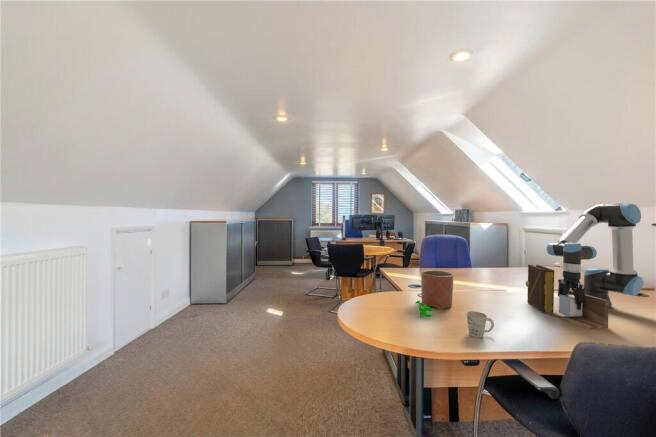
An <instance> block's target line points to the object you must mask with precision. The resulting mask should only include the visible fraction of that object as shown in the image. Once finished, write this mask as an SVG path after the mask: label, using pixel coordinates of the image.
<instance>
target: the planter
mask: <svg viewBox="0 0 656 437" xmlns="http://www.w3.org/2000/svg"><path fill="white" fill-rule="evenodd" d="M454 277H455V276H454V273H452V272H449V271H445V270H444V271H443V270H436V269H435V270H430V269H429V270H422V271H421V272H420V278H421V279H420V281H421V282H420V284H421V305H425V304H426V305H427V307H431V308H435V309H437V310H442V309H447V308H451V307H452V305H453V294H454V292H453V291H454Z"/></svg>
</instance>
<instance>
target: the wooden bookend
mask: <svg viewBox="0 0 656 437" xmlns="http://www.w3.org/2000/svg"><path fill="white" fill-rule="evenodd" d="M568 295H574V294H573V291H572V289H570V290H569V293H568ZM609 309H610V308H609V301H608V300H604V299H601V298H597V297H593V296H590V295H586V294H585V303H583V309H582V316H578V317H568V316H566V315H563V314H560V313H559V312H553V313H551V316H553V317H555V318H558V319H561V320H562V321H565V322H568V323H571V324H573V325H575V326H578V327H580V328H583V329H586V330H594V329H595V330H597V329H598V330H599V329H608V328H609Z"/></svg>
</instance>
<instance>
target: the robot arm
mask: <svg viewBox="0 0 656 437" xmlns="http://www.w3.org/2000/svg"><path fill="white" fill-rule="evenodd" d="M641 219H642V213H641V210H640V208H639V207H638V206H637V205H636V204H634V203H626V202H625V203H624V202H621V203H600V204H596V205H594V206H591V207H590V208H588V209H586V210H585V211H583V212H582V213H581V214H580V215H579V217H578V220H577V221H576V222H575V223H574V224H573V225H572V226H571V227H570V228H569V229H568V230H567V231H566V232H565V233H564V234H563V235H562V237H560V238H559V239H558V240H557V242H550V243H548V244H547V246H546V252H547V254H548V255H550V256H554V257H562V258H563V261H562V277H563V279H558V280H557V281H558V289H557V297H558V298H559V295H568V293H569V290H571V291H573V294H574V297H575V301H576V303H574V315H575V316H577V315H580V310H581V304H582V303H585V294H586V295H590V296H593V297H597V298H601V299H604V300H608V301H609V309H610V308H612V307H613V304H612V301H611V297H610V295H609V292H612V293H616V294H623V295H629V296H636V295H638V294H639V293H640V292H642V289H643V287H644V279H643V277H641V276H640V275H639V276H638V271H636V270H635V269H634V244H633V242H634V240H633V229H634V228H636V226H637V224H639V223H640V222H641ZM603 223H604V224H607V228H610V229H611V242H612V245H611V246H612V249H611V250H612V268H611V269H610V270H609V269H608V268H586V269H585V270H583V271H584V273H583V283H581V282H580V280H581V278H582V273H581V271H582V260H583V261H584V260H586V261H587V260H591V259H594V258H596V257H597V254H598V252H597V249H596V248H595V247H593V245H582V244H581V243H580V242H579V241H580V240H581V239H582V238H583V237H584V236H585V235H586V233H587V232H588V231H590V230H591V228H592V227H595V226H597V225H598V224H603Z"/></svg>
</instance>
